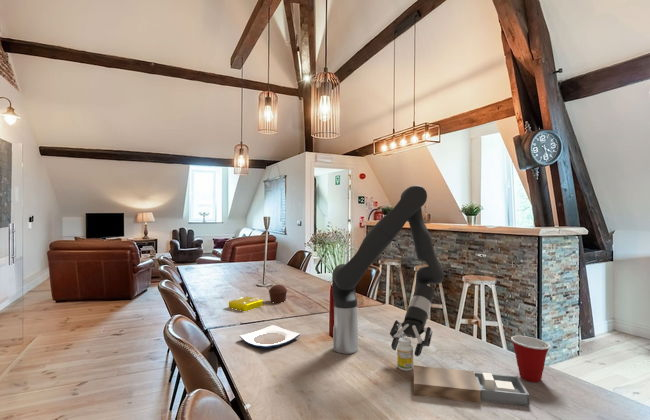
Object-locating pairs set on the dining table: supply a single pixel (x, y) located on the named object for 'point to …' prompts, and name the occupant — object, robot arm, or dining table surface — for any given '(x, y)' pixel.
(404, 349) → the supplement bottle
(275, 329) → the plate
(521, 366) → the plastic cup
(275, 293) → the muffin
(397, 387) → the dining table surface
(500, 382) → the tile
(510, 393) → the tray
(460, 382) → the board
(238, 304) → the element tile
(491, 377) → the tile
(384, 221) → the robot arm
